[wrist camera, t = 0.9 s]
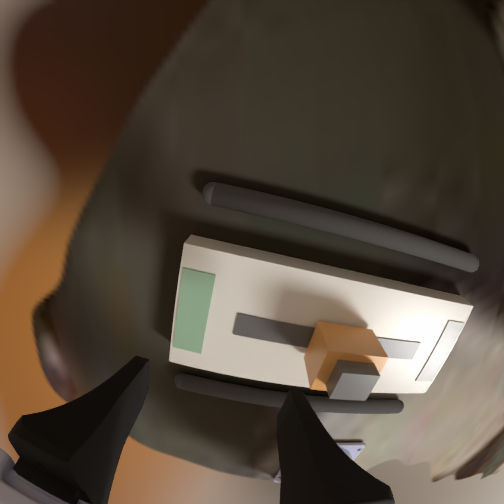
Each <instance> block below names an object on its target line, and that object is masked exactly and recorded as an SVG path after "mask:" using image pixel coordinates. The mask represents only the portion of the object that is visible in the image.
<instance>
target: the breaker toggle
mask: <svg viewBox="0 0 504 504" xmlns="http://www.w3.org/2000/svg"><path fill="white" fill-rule="evenodd" d="M388 358H389V357H388V356H387V354H386V352H385V350H384V349H383V347H382V345H381V344H380V342H379V340H378V338H377V337H376V335H375V333H374V332H373V330H372V329H365V328H358V327H352V326H346V325H340V324H334V323H328V322H322V321H318V322H317V325H316V328H315V330H314V333H313V335H312V338H311V341H310V343H309V346H308V348H307V351H306V353H305V355H304V361H305V366H306V371H307V376H308V381H309V386H310V389H312V390H322V391H327V392H328V396H329V399H342V400H361V401H366V399H367V398H368V396H369V394H370V393H371V391H372V389H373V388H374V386H375V384H376V383H377V381H378V379H379V378H380V372H381V371H382V369H383V367H384V365H385V363H386V362H387V360H388Z"/></svg>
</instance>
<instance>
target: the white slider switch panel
mask: <svg viewBox="0 0 504 504" xmlns="http://www.w3.org/2000/svg"><path fill="white" fill-rule="evenodd" d="M472 308H473V305H471V304H470V303H469V302H468V301H467V300H465V299H464V298H463V297H462V296H460V295H455V294H451V293H447V292H442V291H438V290H434V289H429V288H425V287H421V286H416V285H412V284H408V283H403V282H399V281H395V280H390V279H386V278H381V277H377V276H373V275H368V274H364V273H360V272H355V271H351V270H346V269H342V268H338V267H333V266H329V265H324V264H320V263H316V262H311V261H307V260H302V259H298V258H294V257H289V256H285V255H280V254H276V253H271V252H267V251H262V250H258V249H254V248H249V247H245V246H240V245H236V244H231V243H227V242H222V241H218V240H213V239H209V238H204V237H200V236H195V235H190V237H189V238H188V239H187V240H186V241H185V242H184V246H183V252H182V259H181V265H180V272H179V279H178V286H177V294H176V302H175V310H174V318H173V327H172V336H171V346H170V356H169V361H170V362H174V363H178V364H182V365H186V366H190V367H194V368H198V369H203V370H207V371H212V372H216V373H221V374H226V375H231V376H236V377H241V378H247V379H253V380H258V381H265V382H271V383H278V384H285V385H292V386H300V387H308V388H310V386H309V381H308V376H307V371H306V366H305V361H304V355H305V353H306V351H307V348H308V346H309V343H310V341H311V338H312V335H313V333H314V330H315V328H316V325H317V322H318V321H322V322H328V323H334V324H340V325H346V326H352V327H358V328H365V329H372V330H373V332H374V333H375V335H376V337H377V338H378V340H379V342H380V344H381V345H382V347H383V349H384V350H385V352H386V354H387V356H388V357H389V358H388V360H387V362H386V363H385V365H384V367H383V369H382V371H381V372H380V378H379V379H378V381H377V383H376V384H375V386H374V388H373V389H372V391H371V392H373V393H425V392H426V391H427V389H428V388H429V386H430V385H431V383H432V381H433V380H434V378H435V377H436V375H437V374H438V372H439V370H440V369H441V367H442V365H443V364H444V362H445V360H446V359H447V357H448V355H449V353H450V352H451V350H452V348H453V346H454V344H455V343H456V341H457V339H458V337H459V335H460V333H461V331H462V329H463V327H464V325H465V323H466V321H467V319H468V317H469V315H470V313H471V311H472Z"/></svg>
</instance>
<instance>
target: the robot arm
mask: <svg viewBox="0 0 504 504" xmlns="http://www.w3.org/2000/svg"><path fill="white" fill-rule="evenodd" d="M148 368H149V359H145V358H142V357H139V356H135V357H134V358H133V359H132V360H131V361H129V362H128V363H127V364H126V365H125V366H124V367H123V368H121V369H120V370H119V371H118V372H117V373H115V374H114V375H113V376H111V377H110V378H109V379H108V380H106V381H105V382H103V383H102V384H100V385H99V386H98V387H96V388H95V389H93V390H91V391H90V392H88V393H86V394H85V395H83V396H81V397H79V398H77V399H75V400H73V401H71V402H69V403H66V404H64V405H61V406H59V407H56V408H53V409H50V410H46V411H43V412H39V413H34V414H29V415H22V417H21V418H20V419H19V420H18V421H17V422H16V424H15V425H14V427H13V428H12V430H11V431H10V433H9V434H8V438H9V441H10V443H11V444H12V446H13V447H14V449H15V450H16V452H17V454H18V455H19V456H20V458H19V459H18V461H17V463H16V464H15V463H14V461H13V460H12V458H11V457H10V456H9V455H8V454H7V453H6V452H4V451H3V450H2V449H0V504H108V499H109V495H110V491H111V487H112V483H113V479H114V475H115V472H116V468H117V465H118V462H119V458H120V455H121V452H122V449H123V446H124V444H125V441H126V439H127V437H128V435H129V433H130V431H131V429H132V427H133V425H134V423H135V421H136V419H137V417H138V414H139V412H140V410H141V408H142V406H143V403H144V400H145V397H146V394H147V391H148ZM277 442H278V452H279V462H280V470H279V472H278V473H277V475H276V476H275V478H274V482H278V483H281V488H280V504H394V503H395V501H394V498H393V494H392V491H391V489H390V487H389V486H388V485H386V484H385V483H383V482H381V481H380V480H378V479H376V478H374V477H373V476H372V475H370V474H369V473H368V472H366V471H365V470H363V469H362V468H361V467H360V466H359V465H357V464H356V463H355V462H354V461H353V460H354V459H355V458H356V457H357V456H358V455H359V453H360V452H361V451H362V450H363V449H364V447H365V443H363V442H360V443H336V442H335V441H334V440H333V439H332V437H331V436H330V435H329V433H328V432H327V431H326V429H325V428H324V426H323V425H322V423H321V422H320V420H319V418H318V417H317V415H316V414H315V412H314V410H313V408H312V407H311V405H310V403H309V401H308V400H307V398H306V396H305V394H304V392H303V391H302V390H294V389H290V390H289V392H288V394H287V396H286V399H285V401H284V403H283V405H282V407H281V410H280V412H279V414H278V417H277Z"/></svg>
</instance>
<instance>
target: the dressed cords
mask: <svg viewBox="0 0 504 504" xmlns="http://www.w3.org/2000/svg"><path fill="white" fill-rule="evenodd" d="M202 197H203V199H204V201H205V202H206V203H208V204H210V205H214V206H218V207H223V208H228V209H232V210H237V211H241V212H246V213H250V214H254V215H259V216H263V217H267V218H272V219H276V220H280V221H284V222H289V223H293V224H297V225H301V226H305V227H309V228H313V229H317V230H321V231H325V232H329V233H333V234H337V235H341V236H345V237H348V238H352V239H356V240H360V241H364V242H367V243H371V244H375V245H378V246H382V247H386V248H389V249H393V250H397V251H400V252H404V253H407V254H411V255H414V256H418V257H421V258H425V259H428V260H432V261H435V262H438V263H442V264H445V265H448V266H452V267H455V268H458V269H461V270H465V271H468V272H474V271H476V270H477V269H478V267H479V260H478V258H477V257H476V256H475V255H473V254H470V253H467V252H465V251H462V250H459V249H456V248H454V247H451V246H448V245H445V244H442V243H439V242H436V241H433V240H430V239H427V238H424V237H421V236H418V235H415V234H412V233H409V232H406V231H403V230H399V229H396V228H393V227H390V226H387V225H383V224H380V223H377V222H373V221H370V220H366V219H363V218H360V217H356V216H353V215H349V214H345V213H342V212H338V211H335V210H331V209H327V208H324V207H320V206H316V205H312V204H308V203H304V202H300V201H297V200H293V199H289V198H284V197H280V196H276V195H272V194H268V193H264V192H259V191H255V190H250V189H246V188H242V187H237V186H232V185H228V184H223V183H218V182H210V183H208V184H206V185H205V186H204V188H203V190H202ZM174 384H175V386H176V387H177V388H179V389H182V390H186V391H190V392H194V393H199V394H203V395H208V396H213V397H217V398H222V399H228V400H233V401H239V402H244V403H250V404H257V405H264V406H271V407H278V408H281V407H282V405H283V403H284V401H285V399H286V396H287V394H288V393H287V392H279V391H272V390H265V389H259V388H253V387H247V386H242V385H236V384H231V383H226V382H221V381H216V380H211V379H207V378H202V377H198V376H194V375H189V374H185V373H179V374H177V375H176V376H175V378H174ZM305 396H306V398H307V400H308V401H309V403H310V405H311V407H312V408H313V410H314V411H318V412H334V413H360V414H390V413H399V412H401V411H402V410H403V407H404V404H403V402H402V401H401V400H378V399H366V401H361V400H342V399H329V397H323V396H313V395H305Z"/></svg>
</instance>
